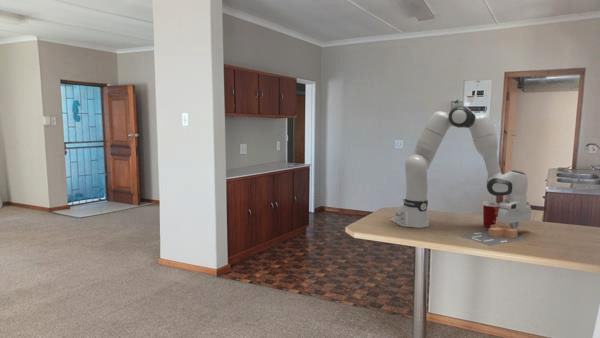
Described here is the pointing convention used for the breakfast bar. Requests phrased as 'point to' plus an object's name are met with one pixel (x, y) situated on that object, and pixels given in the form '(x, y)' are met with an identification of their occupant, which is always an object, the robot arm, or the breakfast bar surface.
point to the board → (489, 238)
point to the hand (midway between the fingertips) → (514, 230)
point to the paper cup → (489, 213)
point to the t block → (502, 232)
